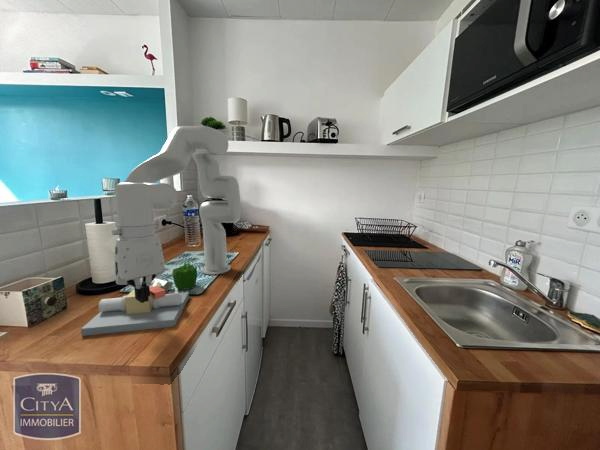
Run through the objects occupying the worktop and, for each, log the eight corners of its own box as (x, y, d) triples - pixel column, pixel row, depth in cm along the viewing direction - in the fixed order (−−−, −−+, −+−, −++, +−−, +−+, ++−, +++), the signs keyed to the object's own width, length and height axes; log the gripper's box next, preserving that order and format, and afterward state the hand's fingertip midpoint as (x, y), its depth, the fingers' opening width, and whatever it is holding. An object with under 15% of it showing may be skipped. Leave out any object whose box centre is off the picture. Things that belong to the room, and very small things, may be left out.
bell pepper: (171, 287, 94) (169, 262, 92) (193, 281, 99) (191, 257, 98) (177, 294, 88) (175, 267, 86) (201, 288, 93) (199, 262, 92)
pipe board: (117, 303, 81) (114, 283, 80) (189, 297, 86) (187, 278, 84) (82, 335, 64) (78, 310, 62) (174, 326, 68) (172, 302, 67)
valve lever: (132, 291, 73) (131, 281, 73) (144, 288, 76) (143, 277, 75) (154, 305, 65) (153, 293, 64) (167, 300, 67) (166, 289, 67)
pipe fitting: (156, 297, 87) (173, 289, 93) (154, 287, 86) (171, 279, 92) (142, 293, 90) (159, 285, 96) (140, 283, 89) (157, 275, 95)
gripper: (106, 238, 54) (114, 316, 57) (174, 229, 66) (178, 294, 69) (95, 234, 59) (103, 307, 61) (161, 227, 71) (165, 288, 73)
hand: (143, 300), depth 65 cm, fingers closed
